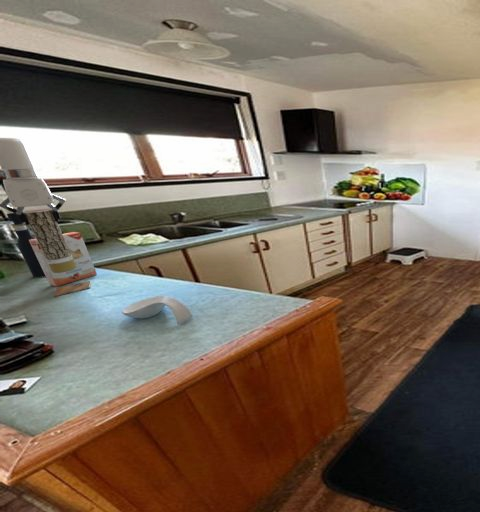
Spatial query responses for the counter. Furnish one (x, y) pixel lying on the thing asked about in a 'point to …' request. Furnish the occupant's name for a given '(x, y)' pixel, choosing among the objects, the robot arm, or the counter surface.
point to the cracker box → (79, 256)
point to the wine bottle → (26, 246)
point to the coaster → (72, 288)
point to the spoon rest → (157, 308)
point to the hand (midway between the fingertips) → (43, 222)
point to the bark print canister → (50, 240)
